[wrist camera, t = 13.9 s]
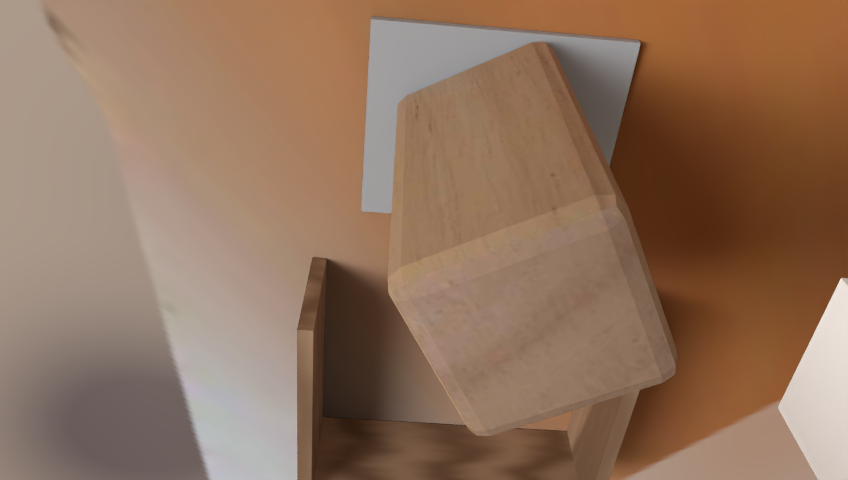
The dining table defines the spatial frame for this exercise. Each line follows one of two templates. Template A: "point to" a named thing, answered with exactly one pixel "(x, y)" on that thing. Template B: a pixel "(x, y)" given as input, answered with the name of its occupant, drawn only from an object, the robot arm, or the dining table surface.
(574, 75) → the mat
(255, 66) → the dining table surface
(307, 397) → the bracket
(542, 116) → the block
